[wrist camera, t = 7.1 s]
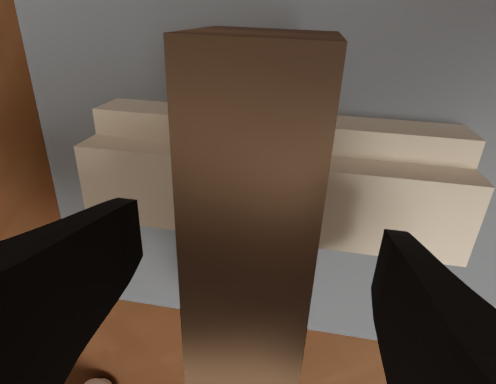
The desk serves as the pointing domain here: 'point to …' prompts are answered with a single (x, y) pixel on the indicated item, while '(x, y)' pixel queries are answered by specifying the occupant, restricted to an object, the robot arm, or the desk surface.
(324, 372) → the desk surface
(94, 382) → the lightbulb
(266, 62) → the walnut bar
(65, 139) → the ridge stand
